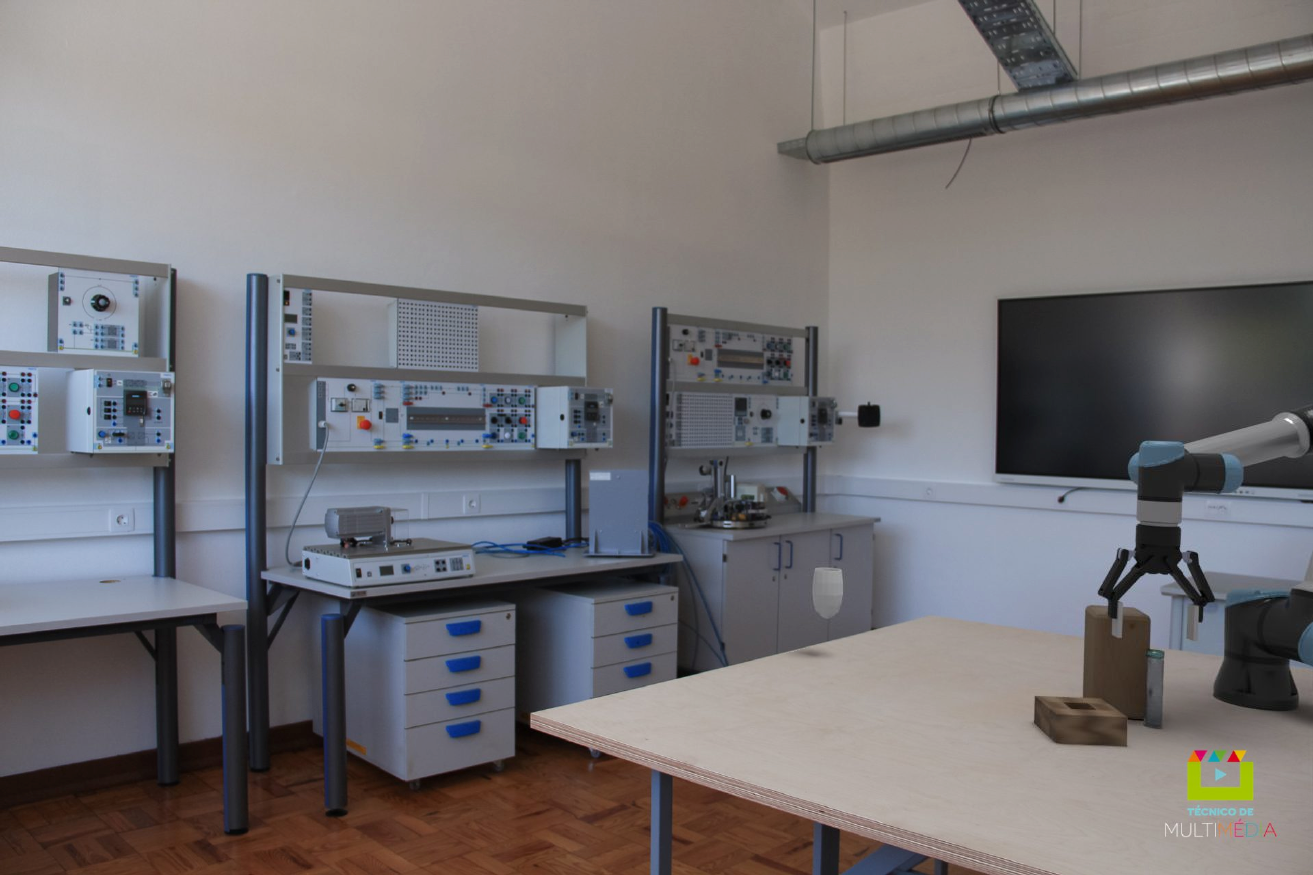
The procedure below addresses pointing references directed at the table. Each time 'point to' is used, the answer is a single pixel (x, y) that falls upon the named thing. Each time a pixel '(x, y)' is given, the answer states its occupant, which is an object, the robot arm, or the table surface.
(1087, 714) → the socket block
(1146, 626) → the wooden block
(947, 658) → the table surface
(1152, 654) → the peg
